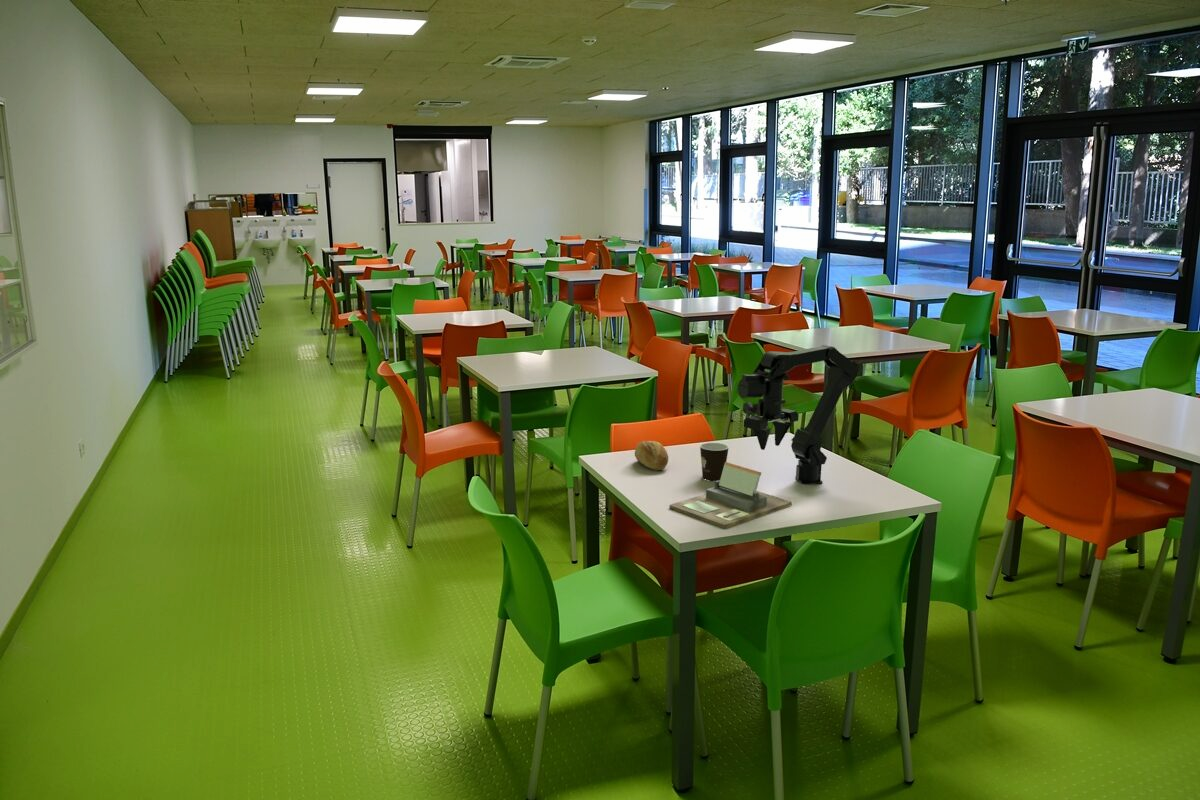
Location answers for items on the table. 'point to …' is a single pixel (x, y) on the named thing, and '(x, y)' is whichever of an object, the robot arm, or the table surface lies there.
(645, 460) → the bread roll
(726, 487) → the board
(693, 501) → the switch board
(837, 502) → the table surface
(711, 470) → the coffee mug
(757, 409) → the robot arm
